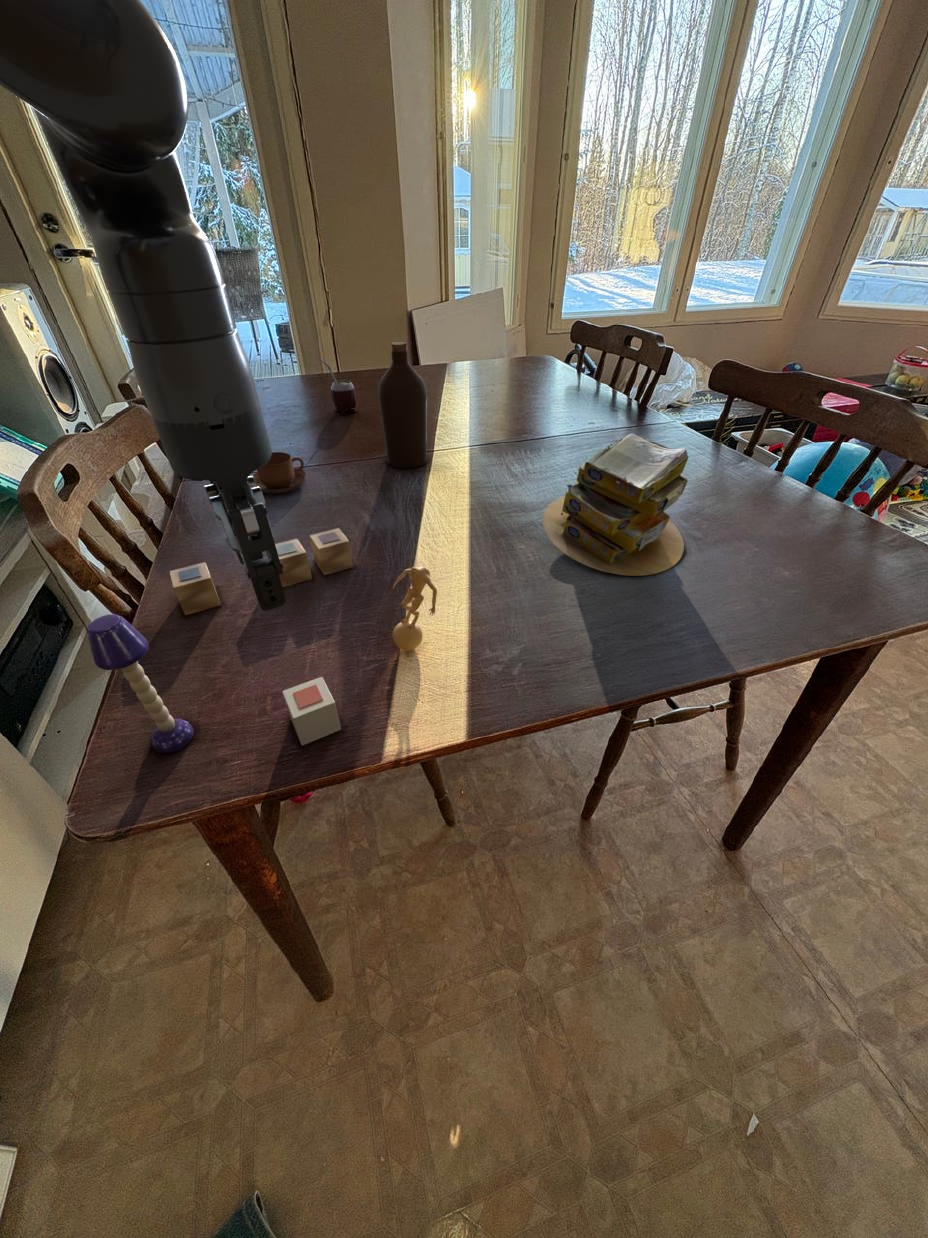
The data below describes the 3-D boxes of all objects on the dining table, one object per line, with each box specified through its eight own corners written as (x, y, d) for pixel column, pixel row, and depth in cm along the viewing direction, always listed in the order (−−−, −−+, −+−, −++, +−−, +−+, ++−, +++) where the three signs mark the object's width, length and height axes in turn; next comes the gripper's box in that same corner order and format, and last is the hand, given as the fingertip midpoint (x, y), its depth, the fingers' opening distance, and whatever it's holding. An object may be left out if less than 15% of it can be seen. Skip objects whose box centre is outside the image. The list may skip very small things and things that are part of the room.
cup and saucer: (283, 471, 117) (276, 444, 113) (319, 483, 111) (314, 455, 108) (238, 489, 109) (230, 461, 105) (275, 503, 104) (268, 474, 100)
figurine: (378, 638, 71) (368, 565, 63) (413, 620, 74) (407, 548, 66) (416, 669, 66) (409, 593, 59) (451, 648, 69) (449, 574, 62)
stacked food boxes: (713, 550, 89) (746, 456, 78) (608, 594, 79) (629, 492, 68) (612, 497, 105) (628, 413, 95) (514, 528, 95) (520, 438, 85)
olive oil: (396, 473, 115) (385, 350, 100) (377, 458, 123) (364, 341, 107) (437, 463, 120) (433, 344, 104) (417, 449, 127) (410, 336, 111)
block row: (185, 615, 75) (172, 587, 72) (181, 598, 78) (169, 570, 75) (353, 567, 85) (349, 540, 82) (343, 553, 88) (338, 527, 85)
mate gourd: (360, 408, 154) (353, 353, 144) (353, 416, 148) (345, 359, 138) (336, 407, 154) (328, 352, 145) (328, 415, 148) (318, 358, 139)
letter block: (301, 746, 57) (292, 718, 54) (290, 718, 60) (281, 690, 57) (341, 729, 58) (335, 701, 55) (328, 703, 61) (321, 675, 59)
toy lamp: (143, 758, 55) (68, 642, 45) (152, 726, 59) (84, 611, 48) (191, 748, 56) (128, 633, 46) (196, 717, 60) (139, 603, 49)
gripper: (141, 387, 41) (207, 559, 51) (159, 441, 31) (236, 639, 42) (237, 374, 44) (282, 539, 54) (281, 419, 34) (325, 609, 45)
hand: (262, 582), depth 48 cm, fingers open, 8 cm apart
